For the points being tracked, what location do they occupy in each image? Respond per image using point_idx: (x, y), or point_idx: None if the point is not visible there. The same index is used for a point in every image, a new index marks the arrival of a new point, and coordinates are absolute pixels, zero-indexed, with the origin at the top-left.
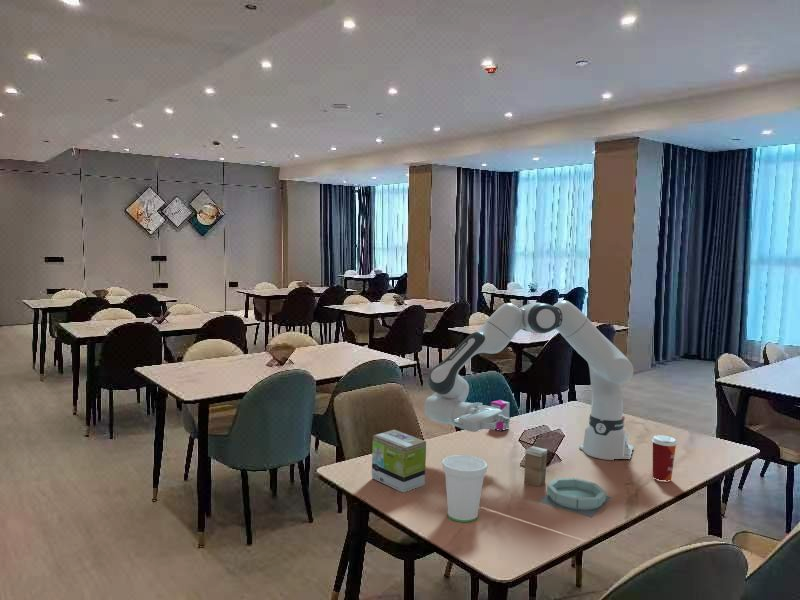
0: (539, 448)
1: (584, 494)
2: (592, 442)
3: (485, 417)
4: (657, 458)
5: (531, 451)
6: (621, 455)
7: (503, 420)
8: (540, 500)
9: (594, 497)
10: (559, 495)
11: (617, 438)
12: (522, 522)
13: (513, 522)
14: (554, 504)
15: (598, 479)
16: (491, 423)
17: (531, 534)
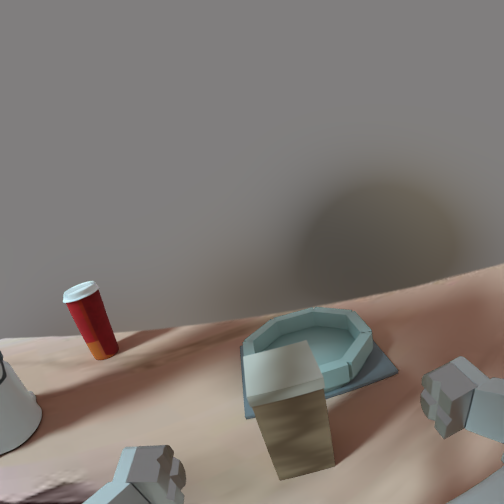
0: (252, 371)
1: None
2: (4, 414)
3: (483, 487)
4: (101, 317)
5: (314, 361)
6: (31, 396)
7: (168, 496)
8: (388, 373)
9: (314, 310)
10: (369, 328)
11: (11, 370)
12: (479, 323)
13: (495, 325)
14: (374, 354)
15: (155, 396)
16: (471, 380)
17: (481, 300)
